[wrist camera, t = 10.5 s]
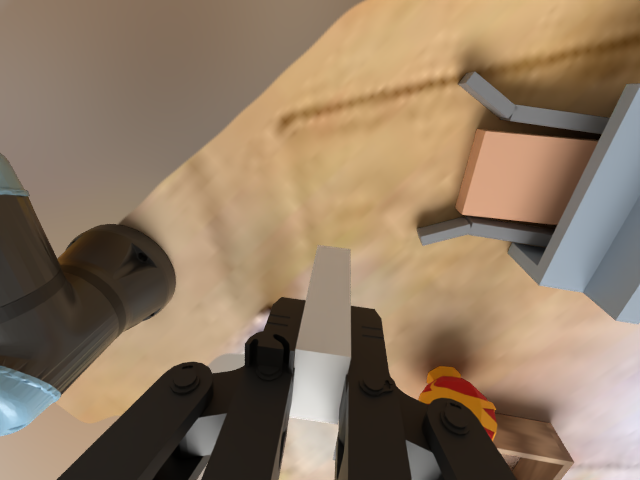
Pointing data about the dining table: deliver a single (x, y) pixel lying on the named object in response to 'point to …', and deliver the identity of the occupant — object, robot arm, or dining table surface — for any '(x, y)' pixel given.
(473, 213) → the terracotta tile
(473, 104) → the dining table surface
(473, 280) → the dining table surface
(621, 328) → the dining table surface
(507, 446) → the walnut display tray
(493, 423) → the potion bottle
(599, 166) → the grey docking fixture
